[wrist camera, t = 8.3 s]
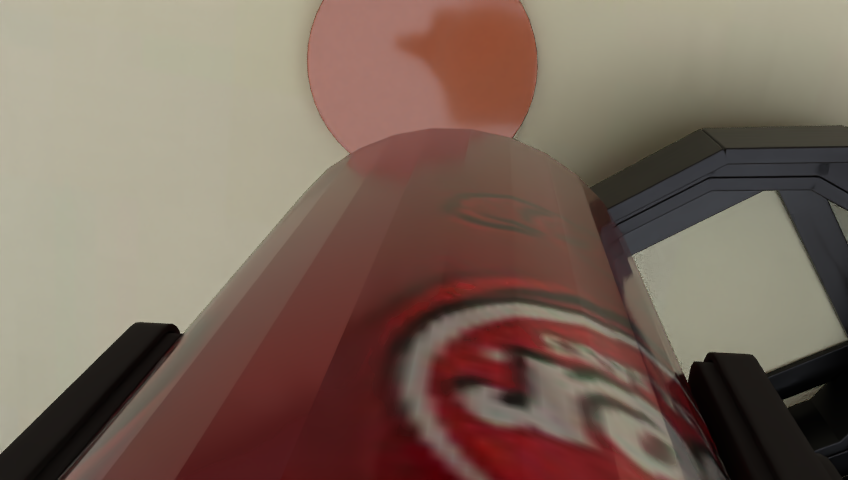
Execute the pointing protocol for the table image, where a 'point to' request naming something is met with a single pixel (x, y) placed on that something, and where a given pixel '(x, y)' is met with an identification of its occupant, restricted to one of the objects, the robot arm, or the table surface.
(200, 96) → the table surface
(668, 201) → the wok
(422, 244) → the soda can
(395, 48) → the coaster
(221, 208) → the table surface
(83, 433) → the robot arm
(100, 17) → the table surface
